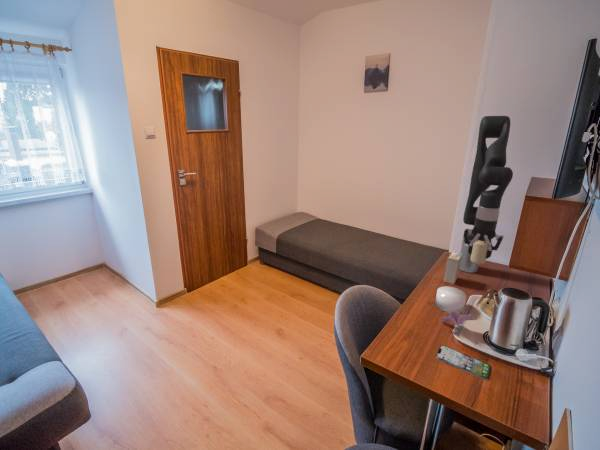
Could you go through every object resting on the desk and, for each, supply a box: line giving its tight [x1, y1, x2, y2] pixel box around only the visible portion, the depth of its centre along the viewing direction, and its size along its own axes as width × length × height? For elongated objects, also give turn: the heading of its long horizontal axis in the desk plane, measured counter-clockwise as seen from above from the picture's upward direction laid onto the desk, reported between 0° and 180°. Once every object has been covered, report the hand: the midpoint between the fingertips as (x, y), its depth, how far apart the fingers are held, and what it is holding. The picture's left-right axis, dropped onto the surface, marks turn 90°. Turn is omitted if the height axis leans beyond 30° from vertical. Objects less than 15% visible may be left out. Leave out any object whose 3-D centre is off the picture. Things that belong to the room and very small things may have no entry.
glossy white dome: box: [434, 285, 468, 314], centre depth 125 cm, size 11×11×6 cm
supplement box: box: [443, 251, 462, 286], centre depth 144 cm, size 8×5×13 cm, turn 143°
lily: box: [438, 311, 478, 336], centre depth 110 cm, size 12×12×10 cm
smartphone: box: [435, 344, 491, 381], centre depth 97 cm, size 7×1×15 cm
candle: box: [470, 240, 488, 265], centre depth 124 cm, size 6×6×10 cm
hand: (478, 255), depth 125 cm, fingers closed on candle, 5 cm apart
